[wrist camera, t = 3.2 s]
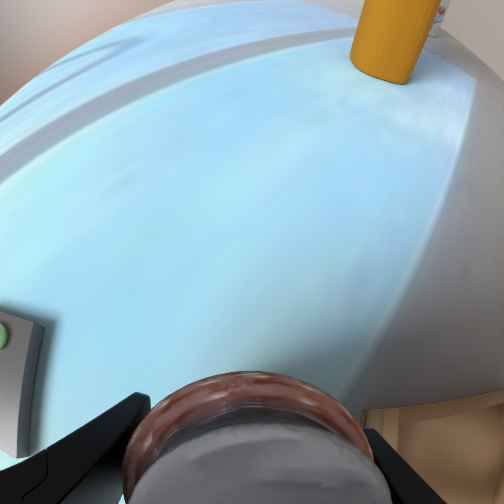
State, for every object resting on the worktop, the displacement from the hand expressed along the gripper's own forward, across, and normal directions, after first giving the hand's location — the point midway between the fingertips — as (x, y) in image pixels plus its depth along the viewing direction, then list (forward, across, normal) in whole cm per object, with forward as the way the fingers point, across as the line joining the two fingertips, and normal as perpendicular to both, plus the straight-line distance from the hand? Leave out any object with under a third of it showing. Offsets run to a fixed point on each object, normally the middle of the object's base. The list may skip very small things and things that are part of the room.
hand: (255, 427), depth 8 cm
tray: (+2, -12, +8) cm, 15 cm away
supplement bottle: (+4, 0, +6) cm, 7 cm away
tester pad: (+3, +14, +6) cm, 16 cm away
